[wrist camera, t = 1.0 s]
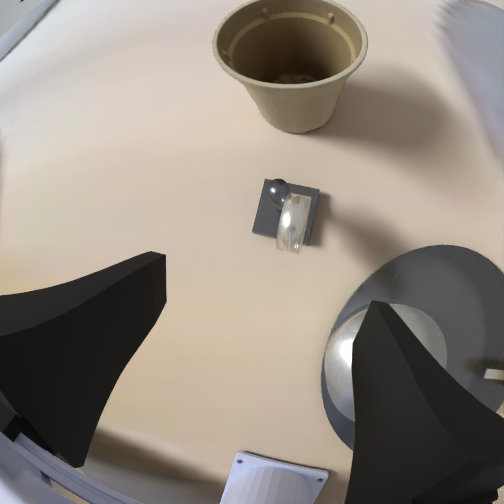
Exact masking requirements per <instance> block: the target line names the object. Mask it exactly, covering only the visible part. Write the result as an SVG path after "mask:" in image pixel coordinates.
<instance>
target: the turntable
mask: <svg viewBox="0 0 504 504" xmlns="http://www.w3.org/2000/svg"><path fill="white" fill-rule="evenodd" d="M372 300H375V301H390V302H396V303H400V304H403V305H406V306H410V307H413V308H416V309H418V310H421V311H423V312H424V313H426V314H427V315H429V316H430V317H431V318H432V319H433V320H434V321H435V322H436V324H437V325H438V326H439V328H440V330H441V332H442V334H443V336H444V339H445V343H446V348H447V364H446V369H445V370H446V371H447V372H448V373H449V374H450V375H451V376H452V377H453V378H454V379H455V380H456V381H457V382H458V383H459V384H460V385H461V386H462V387H464V388H465V389H466V390H467V391H468V392H469V393H470V394H472V395H473V396H474V397H475V398H477V399H478V400H479V401H480V402H481V403H483V404H484V405H485V406H487V407H488V408H489V409H491V410H492V411H494V412H496V411H497V409H498V408H499V406H500V405H501V403H502V402H503V400H504V275H503V273H502V272H501V271H500V270H499V269H498V268H497V266H495V265H494V264H493V263H492V262H491V261H490V260H488V259H487V258H486V257H484V256H482V255H481V254H479V253H477V252H475V251H472V250H470V249H467V248H464V247H459V246H454V245H435V246H427V247H423V248H419V249H416V250H412V251H409V252H407V253H405V254H402V255H400V256H398V257H396V258H394V259H393V260H391V261H389V262H388V263H386V264H384V265H383V266H382V267H380V268H379V269H378V270H376V271H375V272H374V273H373V274H371V275H370V276H369V277H368V278H367V279H366V280H365V281H364V282H363V283H362V284H361V285H360V286H359V287H358V289H357V290H356V291H355V292H354V293H353V295H352V296H351V297H350V298H349V300H348V301H347V303H346V304H345V306H344V308H343V309H342V311H341V312H340V314H339V316H338V318H337V320H336V322H335V324H334V326H333V328H332V330H331V333H330V336H329V339H330V337H331V335H332V333H333V331H334V330H335V328H336V327H337V325H338V324H339V323H340V322H341V321H342V320H343V319H344V318H345V317H346V316H347V315H348V314H350V313H351V312H353V311H354V310H356V309H358V308H359V307H362V306H364V305H366V304H370V303H371V301H372ZM329 339H328V341H329ZM328 341H327V344H328ZM327 344H326V347H327ZM325 351H326V348H325ZM324 358H325V352H324V357H323V362H322V372H321V390H322V398H323V403H324V408H325V411H326V414H327V417H328V420H329V422H330V424H331V425H332V427H333V429H334V431H335V432H336V434H337V435H338V436H339V438H340V439H341V440H342V441H343V442H344V443H345V444H346V445H347V446H348V447H349V448H350V449H351V450H353V451H354V440H355V422H354V421H352V420H350V419H348V418H347V417H346V416H344V415H343V414H342V413H341V412H340V411H339V410H338V409H337V408H336V406H335V405H334V404H333V402H332V400H331V398H330V395H329V392H328V389H327V383H326V376H325V368H324Z"/></svg>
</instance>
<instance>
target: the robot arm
mask: <svg viewBox="0 0 504 504" xmlns="http://www.w3.org/2000/svg"><path fill="white" fill-rule="evenodd" d="M166 302H167V297H166V255H164V254H160V253H156V252H152V251H150V252H146V253H143V254H140V255H138V256H135V257H132V258H130V259H127V260H125V261H122V262H120V263H118V264H115V265H113V266H110V267H108V268H105V269H103V270H100V271H97V272H95V273H92V274H89V275H87V276H84V277H81V278H79V279H76V280H73V281H70V282H66V283H63V284H60V285H56V286H52V287H48V288H44V289H39V290H34V291H29V292H24V293H18V294H10V295H1V296H0V504H76V503H75V502H73V501H71V500H70V499H68V498H66V497H65V496H63V495H62V494H61V493H59V492H58V491H56V490H55V489H53V488H52V486H51V481H50V479H52V480H53V481H55V482H56V483H58V484H59V485H60V486H62V487H64V488H65V489H67V490H68V491H70V492H72V493H73V494H75V495H77V496H78V497H80V498H82V499H83V500H85V501H87V502H89V503H90V504H143V503H140V502H138V501H135V500H133V499H131V498H129V497H126V496H124V495H122V494H120V493H118V492H116V491H113V490H111V489H109V488H107V487H105V486H103V485H102V484H100V483H98V482H96V481H94V480H92V479H90V478H88V477H87V476H85V475H83V474H81V473H80V472H78V471H76V470H75V469H73V468H78V467H82V466H84V462H85V459H86V455H87V452H88V449H89V446H90V443H91V440H92V437H93V434H94V431H95V429H96V426H97V424H98V421H99V419H100V416H101V414H102V412H103V409H104V407H105V405H106V403H107V400H108V398H109V396H110V394H111V392H112V390H113V388H114V386H115V384H116V382H117V380H118V378H119V376H120V375H121V373H122V371H123V370H124V368H125V366H126V365H127V364H128V362H129V361H130V359H131V358H132V356H133V355H134V354H135V352H136V351H137V349H138V348H139V346H140V345H141V344H142V342H143V341H144V339H145V338H146V336H147V335H148V334H149V332H150V331H151V329H152V328H153V326H154V325H155V323H156V321H157V320H158V318H159V316H160V314H161V312H162V310H163V308H164V306H165V304H166ZM351 372H352V385H353V398H354V413H355V440H354V451H353V460H352V467H351V474H350V480H349V485H348V490H347V495H346V500H345V504H492V502H493V501H495V500H497V499H498V491H497V489H499V488H500V487H502V486H503V485H504V418H502V417H501V416H500V415H498V414H497V413H495V412H494V411H492V410H491V409H489V408H488V407H487V406H485V405H484V404H483V403H481V402H480V401H479V400H478V399H477V398H475V397H474V396H473V395H472V394H470V393H469V392H468V391H467V390H466V389H465V388H464V387H462V386H461V385H460V384H459V383H458V382H457V381H456V380H455V379H454V378H453V377H452V376H451V375H450V374H449V373H448V372H447V371H446V370H445V369H444V368H443V367H442V366H441V365H440V364H439V363H438V361H437V360H436V359H435V358H434V357H433V356H432V355H431V354H430V352H429V351H428V350H427V349H426V348H425V347H424V345H423V344H422V343H421V342H420V341H419V339H418V338H417V337H416V336H415V335H414V333H413V332H412V331H411V330H410V328H409V327H408V326H407V325H406V323H405V322H404V321H403V320H402V318H401V317H400V316H399V315H398V314H397V312H396V311H395V310H394V309H393V308H392V307H391V306H390V305H389V304H388V303H385V302H380V301H375V300H372V301H371V303H370V305H369V308H368V310H367V312H366V315H365V317H364V319H363V322H362V324H361V326H360V328H359V330H358V333H357V335H356V337H355V339H354V341H353V343H352V360H351ZM45 450H46V451H45ZM47 451H48V452H49V453H48V452H47ZM50 453H51V454H52V455H51V454H50ZM53 455H54V456H56V457H57V458H59V459H60V460H62V461H64V462H65V463H67V464H68V465H70V466H72V467H73V468H71V467H70V466H68V465H66V464H65V463H63V462H62V461H60V460H58V459H57V458H55V457H54V456H53ZM239 460H242V461H243V462H240V461H239ZM48 477H49V478H50V479H49V478H48ZM320 478H322V480H318V479H320ZM327 478H328V472H327V471H325V470H320V469H314V468H309V467H304V466H299V465H294V464H289V463H285V462H281V461H276V460H272V459H268V458H265V457H261V456H257V455H254V454H250V453H247V452H243V451H240V452H238V453H237V454H236V456H235V459H234V462H233V466H232V469H231V472H230V475H229V478H228V481H227V484H226V487H225V490H224V493H223V496H222V499H221V502H220V504H313V503H314V502H315V500H316V498H317V497H318V495H319V493H320V491H321V489H322V488H323V486H324V484H325V482H326V480H327Z"/></svg>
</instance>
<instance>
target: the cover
mask: <svg viewBox="0 0 504 504" xmlns="http://www.w3.org/2000/svg"><path fill="white" fill-rule="evenodd" d="M380 302H385V303H388V304H389V305H390V306H391V307H392V308H393V309H394V310H395V311H396V312H397V314H398V315H399V316H400V317H401V318H402V320H403V321H404V322H405V323H406V325H407V326H408V327H409V328H410V330H411V331H412V332H413V333H414V335H415V336H416V337H417V338H418V339H419V341H420V342H421V343H422V344H423V345H424V347H425V348H426V349H427V350H428V351H429V352H430V354H431V355H432V356H433V357H434V358H435V359H436V360H437V361H438V363H439V364H440V365H441V366H442V367H443V368H444V369H446V364H447V348H446V343H445V339H444V336H443V334H442V332H441V330H440V328H439V326H438V325H437V324H436V322H435V321H434V320H433V319H432V318H431V317H430V316H429V315H427V314H426V313H424V312H423V311H421V310H418V309H416V308H413V307H410V306H406V305H403V304H400V303H396V302H390V301H380ZM369 305H370V304H366V305H364V306H362V307H359V308H358V309H356V310H354V311H353V312H351V313H350V314H348V315H347V316H346V317H345V318H344V319H343V320H342V321H341V322H340V323H339V324H338V325H337V327H336V328H335V330H334V331H333V333H332V335H331V337H330V339H329V341H328V344H327V347H326V351H325V358H324V368H325V376H326V383H327V389H328V392H329V395H330V398H331V400H332V402H333V404H334V405H335V406H336V408H337V409H338V410H339V411H340V412H341V413H342V414H343V415H344V416H346V417H347V418H348V419H350V420H352V421H354V422H355V413H354V398H353V385H352V372H351V360H352V343H353V341H354V339H355V337H356V335H357V333H358V330H359V328H360V326H361V324H362V322H363V319H364V317H365V315H366V312H367V310H368V308H369Z"/></svg>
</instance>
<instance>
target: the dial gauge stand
mask: <svg viewBox="0 0 504 504" xmlns="http://www.w3.org/2000/svg"><path fill="white" fill-rule="evenodd" d="M318 196H319V189H314V188H310V187H305V186H300V185H295V184H290V183H286V182H285V181H284V180H282V179H274V180H268V179H265V181H264V185H263V189H262V194H261V198H260V202H259V206H258V210H257V214H256V218H255V222H254V226H253V230H252V232H253V233H255V234H259V235H264V236H268V237H273V238H277V241H276V248H277V250H282V251H286V252H290V253H295V254H299V253H300V250H301V247H302V244H303V245H308V242H309V238H310V233H311V229H312V224H313V219H314V215H315V210H316V205H317V200H318Z"/></svg>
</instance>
